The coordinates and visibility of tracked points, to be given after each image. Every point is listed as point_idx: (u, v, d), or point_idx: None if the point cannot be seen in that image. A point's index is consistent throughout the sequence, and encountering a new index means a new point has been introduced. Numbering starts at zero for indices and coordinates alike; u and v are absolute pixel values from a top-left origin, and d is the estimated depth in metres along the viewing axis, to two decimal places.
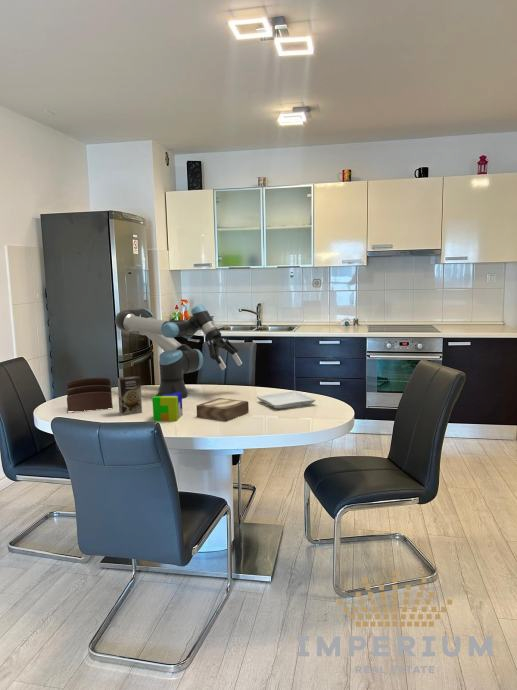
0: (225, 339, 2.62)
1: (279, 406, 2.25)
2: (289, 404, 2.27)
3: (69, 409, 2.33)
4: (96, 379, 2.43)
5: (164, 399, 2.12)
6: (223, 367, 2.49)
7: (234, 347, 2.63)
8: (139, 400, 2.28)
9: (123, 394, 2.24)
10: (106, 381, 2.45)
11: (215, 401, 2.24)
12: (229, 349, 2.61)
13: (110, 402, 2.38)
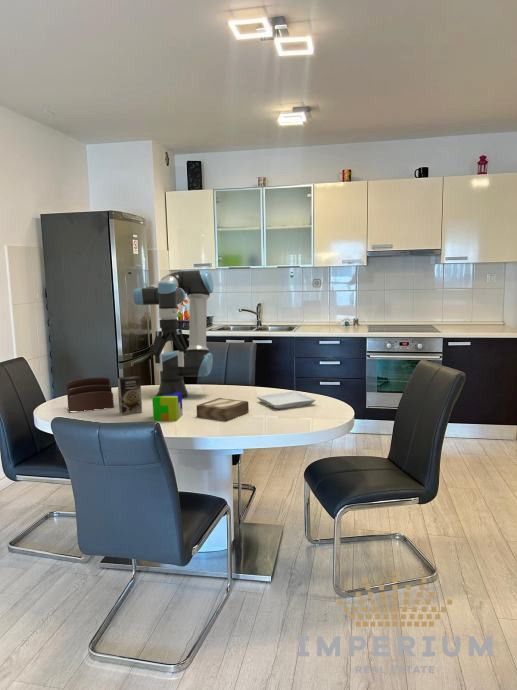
0: (179, 332, 2.19)
1: (279, 406, 2.25)
2: (289, 404, 2.27)
3: (71, 409, 2.32)
4: (96, 379, 2.44)
5: (164, 399, 2.12)
6: (159, 369, 2.10)
7: (185, 344, 2.22)
8: (139, 400, 2.28)
9: (123, 394, 2.24)
10: (105, 381, 2.46)
11: (215, 401, 2.24)
12: (178, 345, 2.20)
13: (111, 401, 2.39)
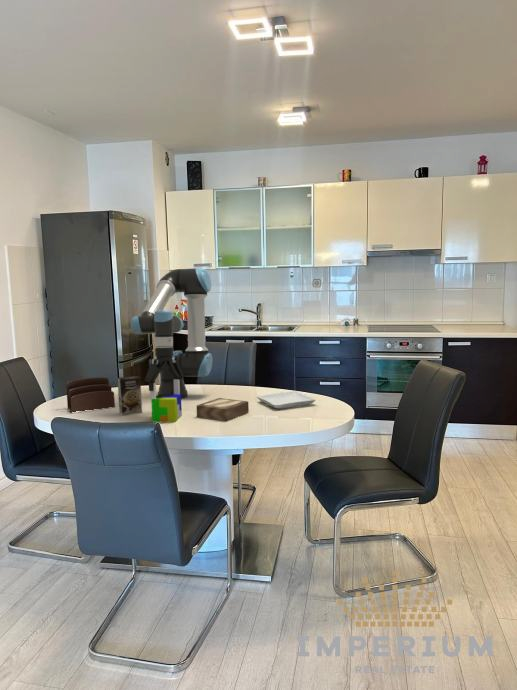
0: (175, 360, 2.19)
1: (279, 406, 2.25)
2: (289, 404, 2.27)
3: (73, 409, 2.32)
4: (95, 379, 2.44)
5: (163, 401, 2.11)
6: (152, 397, 2.08)
7: (181, 372, 2.21)
8: (139, 400, 2.28)
9: (123, 394, 2.24)
10: (104, 381, 2.47)
11: (215, 401, 2.24)
12: (173, 373, 2.19)
13: (113, 401, 2.41)
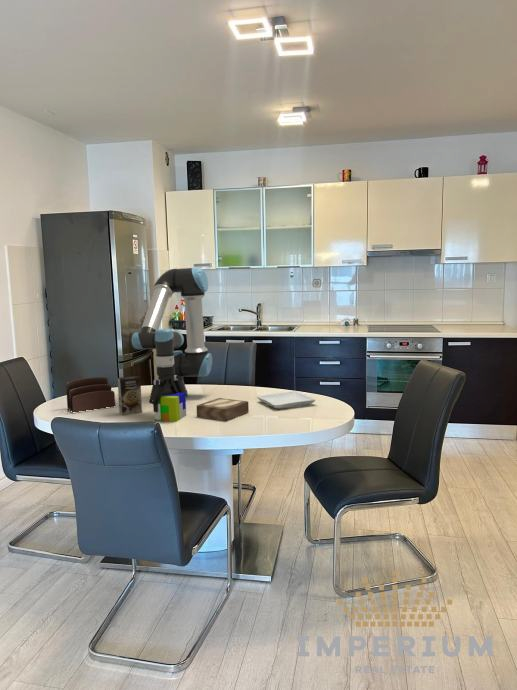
0: (177, 378, 2.20)
1: (279, 406, 2.25)
2: (289, 404, 2.27)
3: (74, 409, 2.32)
4: (94, 379, 2.44)
5: (165, 399, 2.12)
6: (157, 417, 2.12)
7: (181, 390, 2.23)
8: (139, 400, 2.28)
9: (123, 394, 2.24)
10: (104, 380, 2.47)
11: (215, 401, 2.24)
12: (174, 391, 2.20)
13: (113, 400, 2.42)
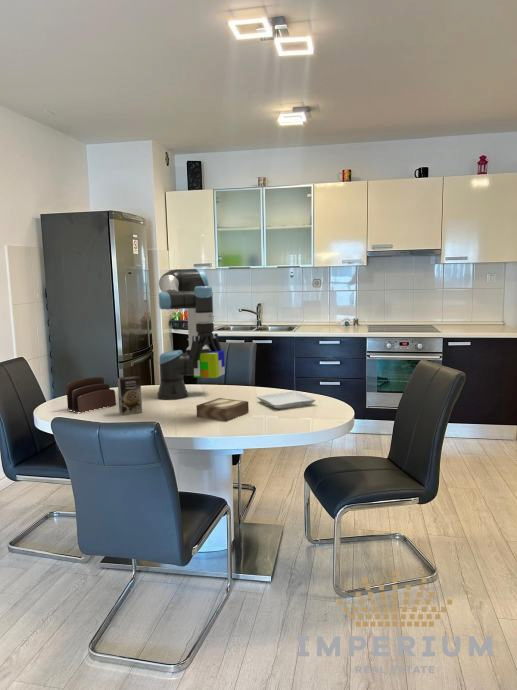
0: (215, 336, 2.20)
1: (279, 406, 2.25)
2: (289, 404, 2.27)
3: (80, 410, 2.31)
4: (92, 379, 2.45)
5: (204, 355, 2.12)
6: (197, 374, 2.12)
7: (220, 349, 2.23)
8: (139, 400, 2.28)
9: (123, 394, 2.24)
10: (100, 380, 2.48)
11: (215, 401, 2.24)
12: (213, 349, 2.20)
13: (114, 399, 2.45)
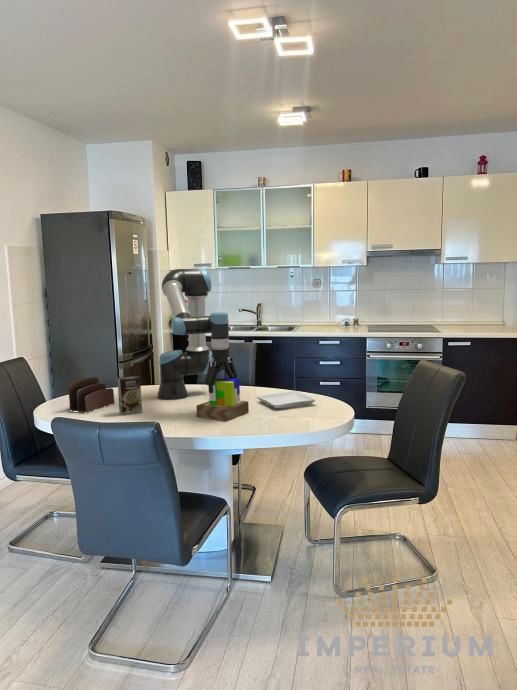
0: (230, 360, 2.22)
1: (279, 406, 2.25)
2: (289, 404, 2.27)
3: (87, 409, 2.31)
4: (89, 379, 2.45)
5: (220, 384, 2.14)
6: (212, 398, 2.14)
7: (235, 372, 2.25)
8: (139, 400, 2.28)
9: (123, 394, 2.24)
10: (96, 380, 2.49)
11: None
12: (229, 373, 2.23)
13: (113, 397, 2.48)
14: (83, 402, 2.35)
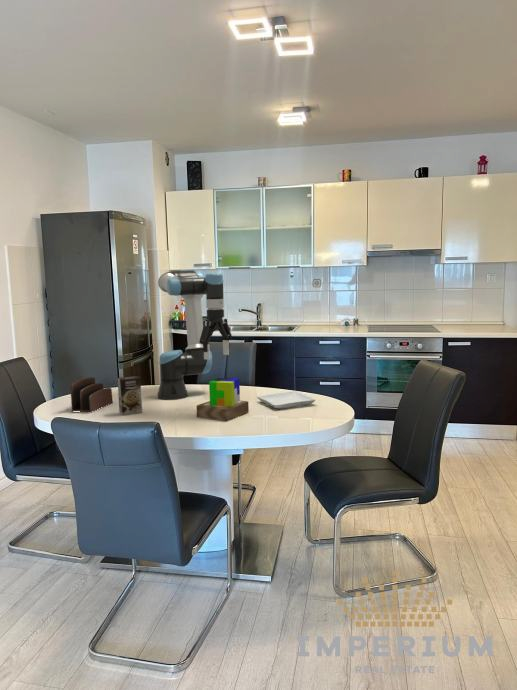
0: (225, 321, 2.26)
1: (279, 406, 2.25)
2: (289, 404, 2.27)
3: (91, 409, 2.32)
4: (88, 379, 2.45)
5: (220, 384, 2.14)
6: (206, 357, 2.18)
7: (229, 333, 2.29)
8: (139, 400, 2.28)
9: (123, 394, 2.24)
10: (93, 380, 2.49)
11: None
12: (223, 334, 2.27)
13: (111, 397, 2.49)
14: (85, 402, 2.36)
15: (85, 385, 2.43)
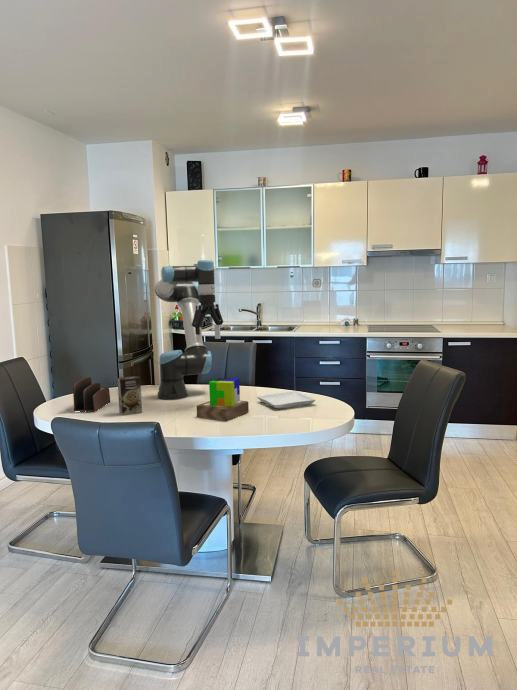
0: (216, 306, 2.38)
1: (279, 406, 2.25)
2: (289, 404, 2.27)
3: (95, 408, 2.33)
4: (86, 379, 2.45)
5: (220, 384, 2.14)
6: (199, 340, 2.30)
7: (221, 318, 2.41)
8: (139, 400, 2.28)
9: (123, 394, 2.24)
10: (90, 380, 2.49)
11: None
12: (215, 319, 2.39)
13: (109, 396, 2.51)
14: (87, 402, 2.36)
15: (84, 385, 2.43)
